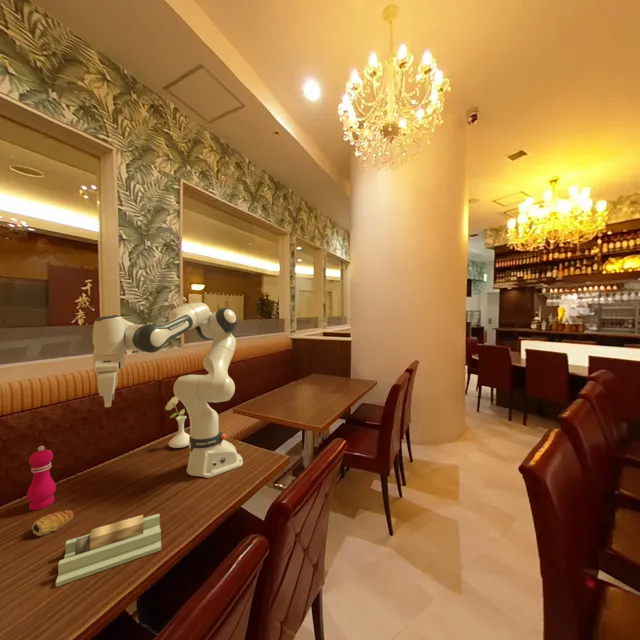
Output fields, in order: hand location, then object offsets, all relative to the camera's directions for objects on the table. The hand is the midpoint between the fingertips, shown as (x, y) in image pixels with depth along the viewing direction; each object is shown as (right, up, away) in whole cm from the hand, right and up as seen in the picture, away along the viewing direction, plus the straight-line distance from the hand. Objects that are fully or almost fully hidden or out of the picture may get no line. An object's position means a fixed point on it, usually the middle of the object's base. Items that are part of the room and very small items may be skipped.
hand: (109, 403), depth 103 cm
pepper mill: (-22, -34, -1) cm, 41 cm away
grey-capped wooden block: (+15, -33, -21) cm, 42 cm away
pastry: (-10, -35, -12) cm, 38 cm away
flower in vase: (+3, -34, +45) cm, 56 cm away
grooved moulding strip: (+16, -34, -20) cm, 43 cm away
